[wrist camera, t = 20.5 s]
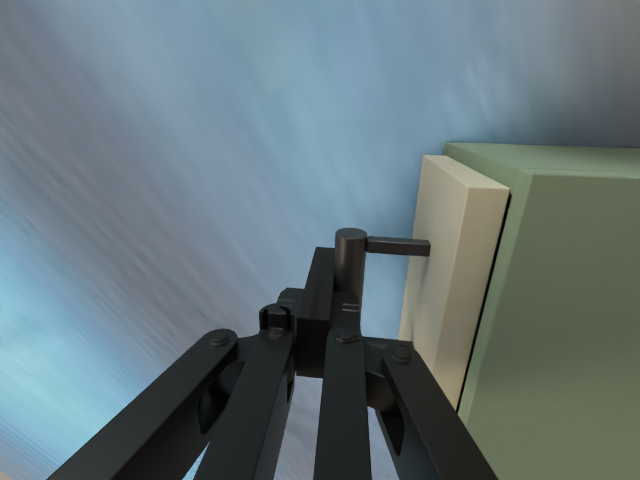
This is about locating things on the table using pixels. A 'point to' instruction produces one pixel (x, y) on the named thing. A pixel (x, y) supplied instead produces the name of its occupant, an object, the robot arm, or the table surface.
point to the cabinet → (559, 315)
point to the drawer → (437, 266)
